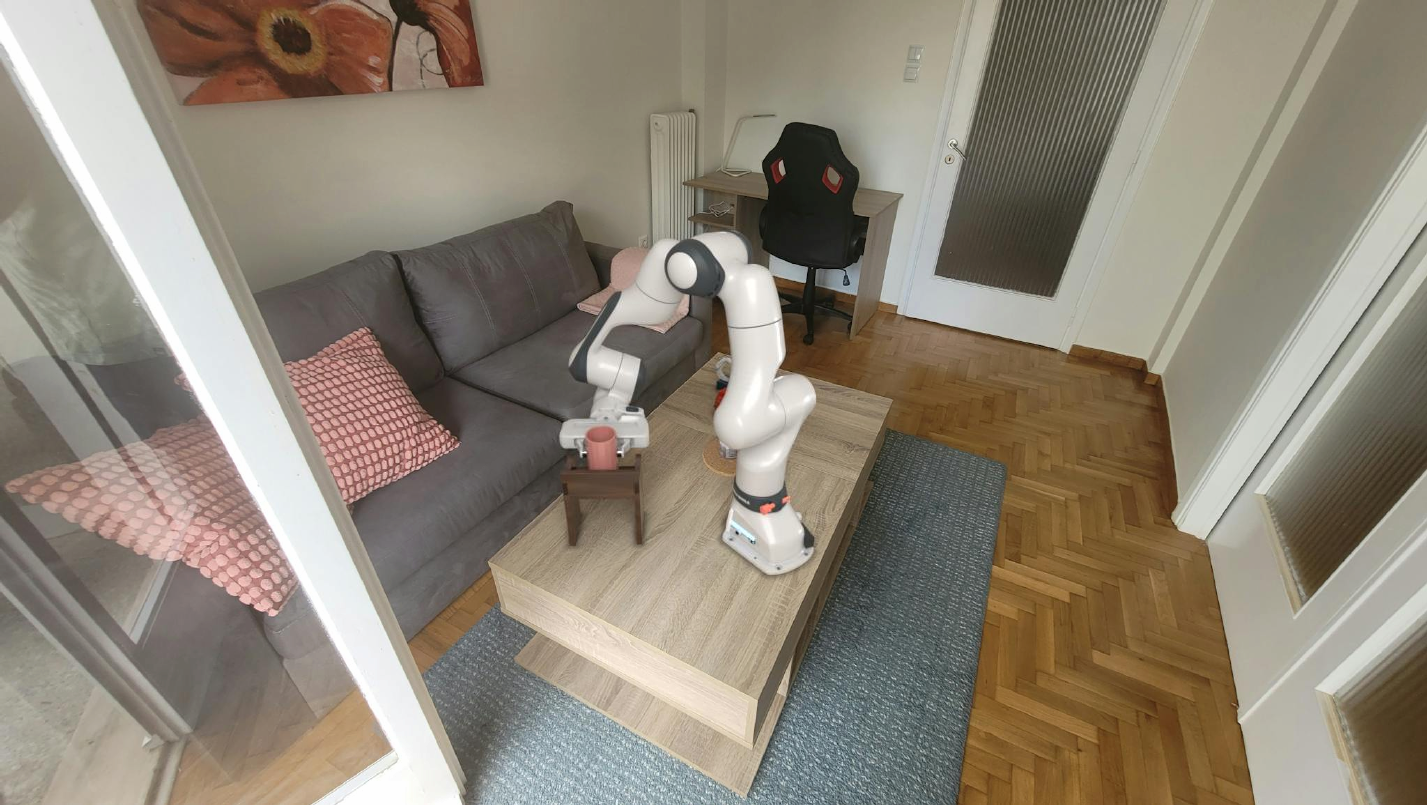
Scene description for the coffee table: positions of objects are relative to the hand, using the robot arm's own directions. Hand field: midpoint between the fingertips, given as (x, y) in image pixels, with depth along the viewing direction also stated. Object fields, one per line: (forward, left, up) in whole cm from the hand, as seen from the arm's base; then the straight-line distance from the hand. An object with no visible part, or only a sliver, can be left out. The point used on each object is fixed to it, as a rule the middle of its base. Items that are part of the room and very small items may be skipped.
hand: (602, 455), depth 128 cm
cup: (+1, 0, -5) cm, 6 cm away
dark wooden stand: (-1, 0, -22) cm, 22 cm away
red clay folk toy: (+27, -52, -22) cm, 63 cm away
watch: (+40, -61, -22) cm, 76 cm away
